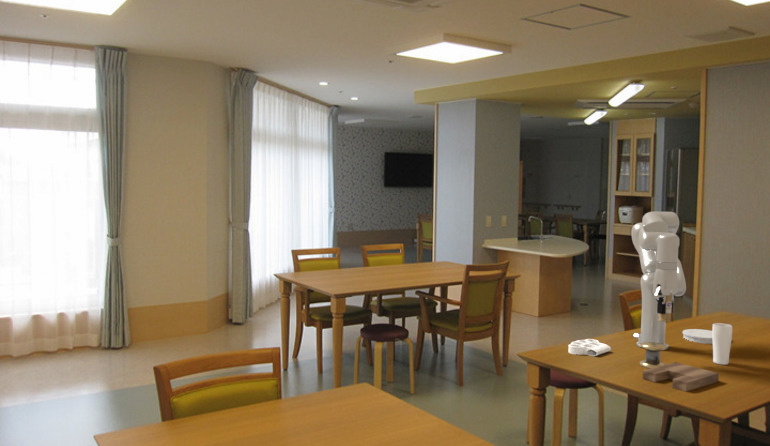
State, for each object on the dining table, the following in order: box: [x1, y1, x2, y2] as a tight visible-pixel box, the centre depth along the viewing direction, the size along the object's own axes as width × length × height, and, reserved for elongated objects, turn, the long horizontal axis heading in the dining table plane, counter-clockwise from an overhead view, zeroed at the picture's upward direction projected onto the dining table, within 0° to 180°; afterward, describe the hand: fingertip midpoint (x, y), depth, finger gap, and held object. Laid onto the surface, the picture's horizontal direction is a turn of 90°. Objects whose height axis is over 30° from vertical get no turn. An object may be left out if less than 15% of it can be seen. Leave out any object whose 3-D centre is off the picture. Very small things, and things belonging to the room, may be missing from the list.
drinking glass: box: [711, 322, 733, 366], centre depth 237 cm, size 7×7×15 cm
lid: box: [682, 328, 713, 345], centre depth 276 cm, size 17×20×3 cm
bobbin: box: [639, 342, 667, 369], centre depth 233 cm, size 9×9×8 cm
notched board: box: [642, 361, 720, 392], centre depth 216 cm, size 16×20×3 cm
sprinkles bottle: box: [659, 290, 673, 323], centre depth 239 cm, size 5×5×13 cm
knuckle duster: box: [567, 338, 612, 357], centre depth 254 cm, size 3×18×15 cm
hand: (664, 312), depth 239 cm, fingers closed on sprinkles bottle, 4 cm apart
